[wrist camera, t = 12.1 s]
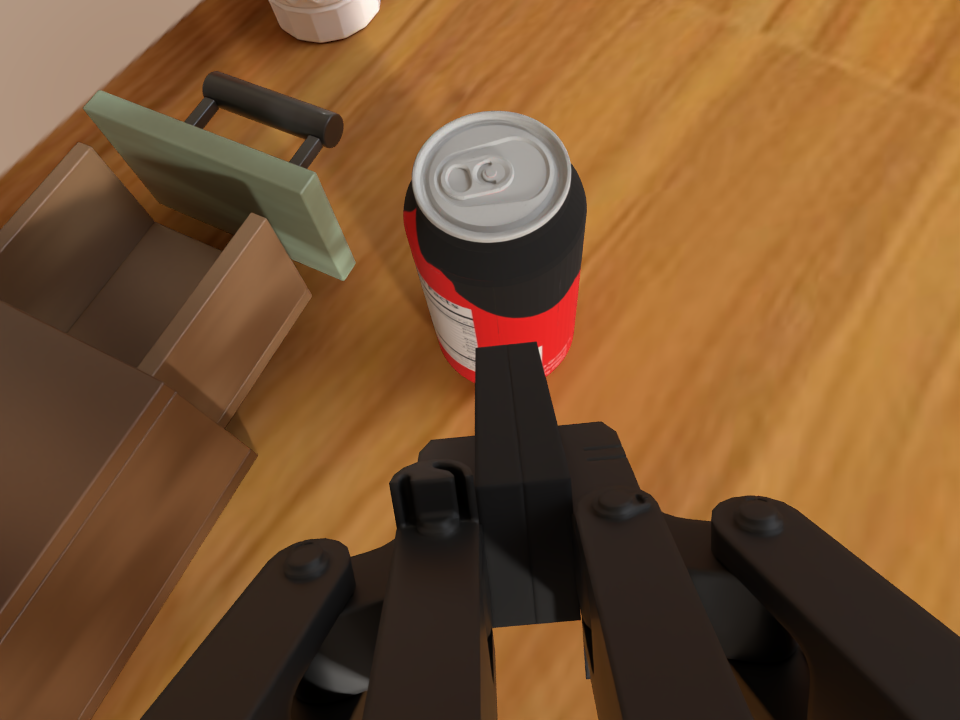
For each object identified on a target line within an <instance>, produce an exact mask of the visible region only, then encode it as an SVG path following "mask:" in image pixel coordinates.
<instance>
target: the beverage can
mask: <svg viewBox="0 0 960 720" xmlns="http://www.w3.org/2000/svg"><path fill="white" fill-rule="evenodd" d="M586 213H587V203H586V196H585V192H584V188H583V185H582V182H581V180H580V177H579V175H578V173H577V171H576V170H575V168H574V167H573V165H572V164H571V163H570V159H569V155H568V153H567V150H566V148H565V146H564V145H563V143H562V142H561V140H560V139H559V138H558V136H557V135H556V134H555V133H554V132H553V131H552V130H550V129H549V128H548V127H547V126H545V125H544V124H542V123H541V122H539V121H537V120H535V119H533V118H530V117H528V116H525V115H522V114H518V113H513V112H506V111H486V112H478V113H474V114H469V115H466V116H463V117H461V118H458V119H456V120H454V121H452V122H450V123H448V124H446V125H445V126H443V127H442V128H440V129H439V130H437V131H436V132H435V133H434V134H433V135H432V136H431V137H430V138H429V139H428V140H427V141H426V142H425V144H424V145H423V146H422V148H421V149H420V151H419V153H418V155H417V157H416V160H415V162H414V166H413V171H412V180H411V182H410V184H409V187H408V189H407V193H406V197H405V203H404V211H403V219H404V227H405V231H406V235H407V238H408V241H409V245H410V248H411V251H412V255H413V258H414V261H415V265H416V268H417V271H418V275H419V278H420V281H421V285H422V288H423V291H424V295H425V298H426V301H427V305H428V308H429V311H430V315H431V318H432V321H433V325H434V328H435V331H436V335H437V338H438V341H439V345H440V348H441V350H442V352H443V354H444V356H445V358H446V360H447V361H448V362H449V364H450V365H451V366H452V367H453V368H454V369H455V370H456V371H457V372H458V373H459V374H460V375H462V376H463V377H465V378H466V379H468V380H470V381H472V382H474V383H475V348H478V347H488V346H497V345H507V344H517V343H527V342H536V341H537V345H538V349H539V353H540V357H541V361H542V365H543V369H544V373H545V377H546V376H547V375H549V374H550V373H551V372H552V371H553V370H554V369H555V368H556V367H557V366H558V365H559V364H560V363H561V362H562V360H563V359H564V358H565V356H566V354H567V352H568V350H569V348H570V346H571V343H572V339H573V334H574V325H575V316H576V307H577V297H578V288H579V279H580V269H581V260H582V251H583V241H584V232H585V223H586Z"/></svg>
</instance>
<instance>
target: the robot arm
mask: <svg viewBox="0 0 960 720" xmlns="http://www.w3.org/2000/svg"><path fill="white" fill-rule="evenodd" d="M389 485H390V491H391V497H392V503H393V509H394V514H395V520H396V526H397V530H396V536H395V539H394V540H392V541H391V542H389V543H387V544H386V545H384V546H382V547H380V548H377V549H374V550H372V551H369V552H366V553H362V554H359V555H356V556H352V557H350V554H349V551H348V548H347V547H346V546H345V545H343V544H342V543H341V542H339V541H336V540H331V539H326V538H323V539H309V540H304V541H302V542H298V543H295V544H293V545H291V546H289V547H287V548H285V549H283V550H281V551H279V552H278V553H277V554H276V555H275V556H274V557H272V558H271V559H270V560H269V561H268V562H267V563H266V564H265V566H264V567H263V568H262V569H261V571H260V572H259V573H258V574H257V576H256V577H255V578H254V579H253V580H252V582H251V583H250V584H249V585H248V587H247V588H246V589H245V590H244V592H243V593H242V594H241V595H240V597H239V598H238V599H237V600H236V601H235V603H234V604H233V605H232V606H231V608H230V609H229V610H228V611H227V613H226V614H225V615H224V616H223V618H222V619H221V620H220V621H219V622H218V624H217V625H216V626H215V627H214V629H213V630H212V631H211V632H210V634H209V635H208V636H207V637H206V639H205V640H204V641H203V642H202V643H201V645H200V646H199V647H198V648H197V650H196V651H195V652H194V653H193V655H192V656H191V657H190V658H189V659H188V661H187V662H186V663H185V664H184V666H183V667H182V668H181V669H180V671H179V672H178V673H177V674H176V676H175V677H174V678H173V679H172V680H171V682H170V683H169V684H168V685H167V687H166V688H165V689H164V690H163V692H162V693H161V694H160V695H159V697H158V698H157V699H156V700H155V701H154V703H153V704H152V705H151V706H150V708H149V709H148V710H147V711H146V713H145V714H144V715H143V716H142V717H141V719H140V720H497V693H496V666H495V647H494V639H493V631H492V628H496V627H508V626H519V625H530V624H541V623H552V622H564V621H575V620H581V615H582V627H583V642H584V656H585V670H586V679H591V683H592V688H593V694H594V699H595V704H596V709H597V714H598V719H599V720H960V637H959V636H958V635H957V634H956V633H954V632H953V631H952V630H950V629H949V628H948V627H947V626H945V625H944V624H943V623H941V622H940V621H939V620H938V619H936V618H935V617H934V616H932V615H931V614H930V613H929V612H927V611H926V610H925V609H924V608H922V607H921V606H920V605H918V604H917V603H916V602H915V601H913V600H912V599H911V598H909V597H908V596H907V595H906V594H904V593H903V592H902V591H900V590H899V589H898V588H897V587H895V586H894V585H893V584H891V583H890V582H889V581H888V580H886V579H885V578H884V577H882V576H881V575H880V574H879V573H877V572H876V571H875V570H873V569H872V568H871V567H870V566H868V565H867V564H866V563H864V562H863V561H862V560H861V559H859V558H858V557H857V556H856V555H854V554H853V553H852V552H850V551H849V550H848V549H847V548H845V547H844V546H843V545H841V544H840V543H839V542H838V541H836V540H835V539H834V538H832V537H831V536H830V535H829V534H827V533H826V532H825V531H823V530H822V529H821V528H820V527H818V526H817V525H816V524H814V523H813V522H812V521H811V520H809V519H808V518H807V517H805V516H804V515H803V514H802V513H800V512H799V511H798V510H796V509H795V508H793V507H791V506H789V505H787V504H786V503H784V502H781V501H778V500H774V499H771V498H767V497H762V496H742V497H733V498H730V499H728V500H725V501H723V502H720V503H719V504H718V505H717V506H716V507H715V508H714V509H713V510H712V518H711V521H702V520H692V519H685V518H679V517H675V516H672V515H668V514H665V513H663V512H661V510H660V507H659V505H658V503H657V502H656V501H655V499H654V498H653V497H652V496H651V495H650V494H648V493H646V492H644V491H642V490H640V487H639V485H638V483H637V480H636V478H635V475H634V473H633V471H632V468H631V466H630V464H629V461H628V459H627V458H626V454H625V452H624V449H623V447H622V445H621V442H620V440H619V438H618V435H617V433H616V431H614V430H613V429H611V428H610V427H608V426H607V425H606V424H604V423H603V422H591V423H581V424H570V425H560V426H558V425H557V421H556V417H555V413H554V409H553V405H552V401H551V397H550V393H549V389H548V385H547V381H546V377H545V373H544V369H543V365H542V361H541V357H540V353H539V349H538V345H537V341H536V342H527V343H517V344H507V345H497V346H488V347H478V348H475V436H467V437H457V438H447V439H436V440H431V441H430V442H429V443H428V444H427V445H426V446H425V447H424V448H423V449H422V450H421V451H420V452H419V457H418V462H417V463H414V464H412V465H409V466H407V467H404V468H403V469H401V470H400V471H399V472H397V473H396V474H395V475H394V476H393V478H392V479H391V481H390V483H389ZM580 610H581V615H580Z"/></svg>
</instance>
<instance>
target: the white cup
mask: <svg viewBox="0 0 960 720" xmlns="http://www.w3.org/2000/svg"><path fill="white" fill-rule="evenodd" d="M380 1H381V0H269V3H270V5H271V7H272V9H273V12H274V14H275V16H276V18H277V21H278V23H279V25H280V27H281V28H282V29H283V30H284V31H286V32H288V33H289V34H291V35H292V36H294V37H295V38H297V39H299V40H305V41H311V42H318V43H323V42H328V41H334V40H339V39H344V38H347V37H348V36H350V35H352V34H354V33H356V32H357V31H359V30H361V29H363V28H364V27H366V26H367V25H368V23H369V22H370V21H371V20H372V19H373V17H374V16H375V15H376V14H377V12H378V11H379V8H380Z"/></svg>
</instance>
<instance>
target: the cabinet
mask: <svg viewBox="0 0 960 720" xmlns="http://www.w3.org/2000/svg"><path fill="white" fill-rule="evenodd" d="M257 456H258V455H257V454H256V453H255V452H254V451H252V450H251V449H250V448H249V447H247V446H246V445H245V444H243V443H242V442H241V441H240V440H238V439H237V438H236V437H234V436H233V435H232V434H231V433H229V432H228V431H227V430H225V429H224V428H223V427H222V426H220V425H219V424H218V423H216V422H215V421H214V420H213V419H211V418H210V417H209V416H207V415H206V414H205V413H204V412H202V411H201V410H200V409H198V408H197V407H196V406H195V405H193V404H192V403H191V402H189V401H188V400H187V399H186V398H184V397H183V396H182V395H180V394H179V393H178V392H177V391H175V390H174V389H173V388H171V387H170V386H169V385H167V384H166V383H165V382H163V381H161V380H159V379H157V378H155V377H153V376H151V375H149V374H147V373H145V372H143V371H141V370H139V369H137V368H135V367H133V366H131V365H129V364H127V363H125V362H123V361H121V360H119V359H117V358H115V357H113V356H111V355H109V354H107V353H106V352H104V351H102V350H100V349H98V348H96V347H94V346H92V345H90V344H88V343H86V342H84V341H82V340H80V339H78V338H76V337H74V336H72V335H70V334H68V333H66V332H64V331H62V330H60V329H58V328H56V327H54V326H52V325H50V324H48V323H46V322H44V321H42V320H40V319H38V318H36V317H34V316H32V315H30V314H28V313H26V312H24V311H22V310H20V309H18V308H16V307H14V306H12V305H10V304H8V303H6V302H4V301H2V300H0V720H90V719H91V718H92V716H93V715H94V713H95V712H96V710H97V708H98V707H99V705H100V704H101V702H102V700H103V699H104V697H105V696H106V694H107V693H108V691H109V689H110V688H111V686H112V685H113V683H114V682H115V680H116V678H117V677H118V675H119V674H120V672H121V671H122V669H123V667H124V666H125V664H126V663H127V661H128V659H129V658H130V656H131V655H132V653H133V652H134V650H135V648H136V647H137V645H138V644H139V642H140V641H141V639H142V637H143V636H144V634H145V633H146V631H147V630H148V628H149V626H150V625H151V623H152V622H153V620H154V618H155V617H156V615H157V614H158V612H159V611H160V609H161V607H162V606H163V604H164V603H165V601H166V600H167V598H168V596H169V595H170V593H171V592H172V590H173V589H174V587H175V585H176V584H177V582H178V581H179V579H180V577H181V576H182V574H183V573H184V571H185V570H186V568H187V566H188V565H189V563H190V562H191V560H192V559H193V557H194V555H195V554H196V552H197V551H198V549H199V547H200V546H201V544H202V543H203V541H204V540H205V538H206V536H207V535H208V533H209V532H210V530H211V529H212V527H213V525H214V524H215V522H216V521H217V519H218V518H219V516H220V514H221V513H222V511H223V510H224V508H225V506H226V505H227V503H228V502H229V500H230V499H231V497H232V495H233V494H234V492H235V491H236V489H237V488H238V486H239V484H240V483H241V481H242V480H243V478H244V477H245V475H246V473H247V472H248V470H249V469H250V467H251V465H252V464H253V462H254V461H255V459H256V458H257Z"/></svg>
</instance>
